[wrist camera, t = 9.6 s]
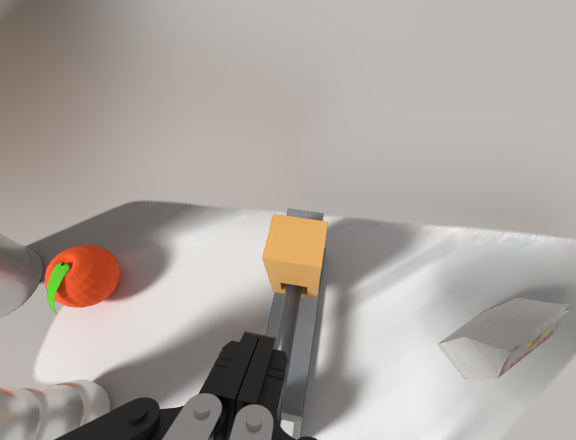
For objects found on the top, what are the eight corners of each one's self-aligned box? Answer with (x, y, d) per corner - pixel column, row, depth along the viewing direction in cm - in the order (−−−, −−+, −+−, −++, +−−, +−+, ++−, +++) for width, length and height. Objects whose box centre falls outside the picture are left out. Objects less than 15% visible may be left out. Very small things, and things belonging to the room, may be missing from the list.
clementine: (113, 327, 33) (69, 314, 27) (58, 318, 34) (3, 303, 28) (140, 261, 37) (107, 237, 31) (90, 254, 38) (48, 229, 32)
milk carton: (437, 344, 31) (489, 329, 22) (483, 311, 32) (549, 284, 24) (464, 378, 29) (531, 376, 21) (511, 342, 31) (593, 325, 22)
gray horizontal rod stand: (297, 446, 27) (295, 471, 19) (246, 433, 28) (224, 453, 20) (324, 250, 37) (330, 214, 29) (285, 244, 37) (281, 207, 30)
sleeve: (316, 299, 30) (321, 267, 22) (273, 291, 31) (262, 257, 23) (321, 263, 32) (327, 221, 24) (280, 256, 33) (273, 213, 25)
